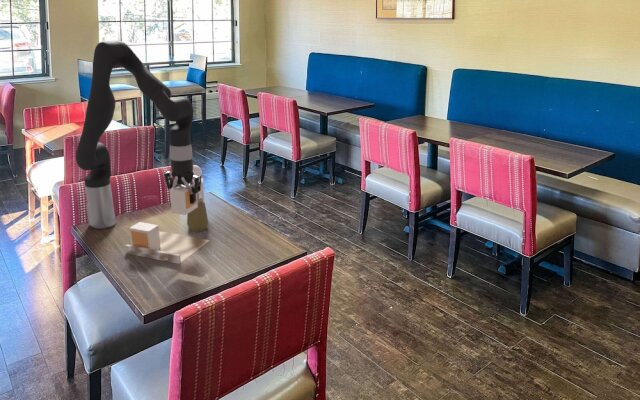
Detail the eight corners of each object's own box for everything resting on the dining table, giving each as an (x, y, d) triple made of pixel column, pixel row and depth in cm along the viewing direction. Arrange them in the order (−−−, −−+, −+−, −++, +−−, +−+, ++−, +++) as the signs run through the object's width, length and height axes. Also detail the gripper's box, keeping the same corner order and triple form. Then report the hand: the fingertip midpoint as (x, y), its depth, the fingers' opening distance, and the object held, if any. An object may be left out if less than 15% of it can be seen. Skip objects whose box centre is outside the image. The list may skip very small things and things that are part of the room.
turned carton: (171, 212, 193) (169, 188, 190) (184, 204, 200) (182, 181, 197) (186, 215, 191) (184, 191, 188) (198, 207, 198) (196, 184, 195)
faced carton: (142, 244, 199) (139, 221, 196) (160, 248, 197) (158, 225, 193) (131, 251, 194) (128, 228, 191) (150, 255, 191) (147, 231, 188)
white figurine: (205, 217, 227) (202, 167, 219) (189, 218, 225) (185, 168, 217) (205, 211, 233) (202, 162, 225) (190, 212, 231) (186, 163, 223)
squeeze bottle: (204, 236, 209) (200, 192, 203) (184, 234, 211) (180, 191, 204) (212, 228, 217) (209, 185, 210) (192, 226, 218) (189, 184, 212)
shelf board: (125, 257, 193) (124, 245, 191) (160, 234, 211) (159, 224, 209) (179, 268, 186) (178, 256, 184) (210, 243, 204) (209, 232, 202)
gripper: (157, 157, 188) (161, 202, 194) (193, 162, 183) (196, 208, 189) (170, 151, 194) (173, 195, 200) (205, 156, 190) (207, 201, 196)
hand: (184, 201), depth 195 cm, fingers closed on turned carton, 6 cm apart
